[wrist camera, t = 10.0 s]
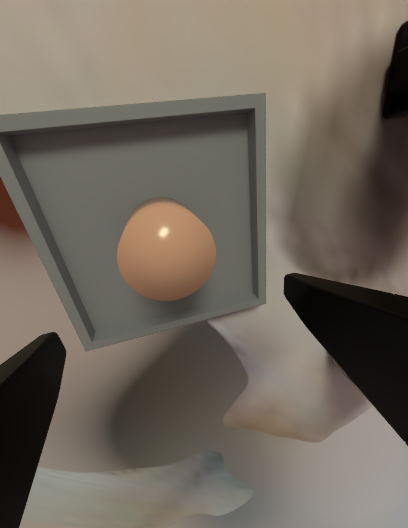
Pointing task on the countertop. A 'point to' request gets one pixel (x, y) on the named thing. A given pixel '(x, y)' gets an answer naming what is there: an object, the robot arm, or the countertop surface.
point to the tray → (134, 193)
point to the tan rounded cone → (165, 250)
